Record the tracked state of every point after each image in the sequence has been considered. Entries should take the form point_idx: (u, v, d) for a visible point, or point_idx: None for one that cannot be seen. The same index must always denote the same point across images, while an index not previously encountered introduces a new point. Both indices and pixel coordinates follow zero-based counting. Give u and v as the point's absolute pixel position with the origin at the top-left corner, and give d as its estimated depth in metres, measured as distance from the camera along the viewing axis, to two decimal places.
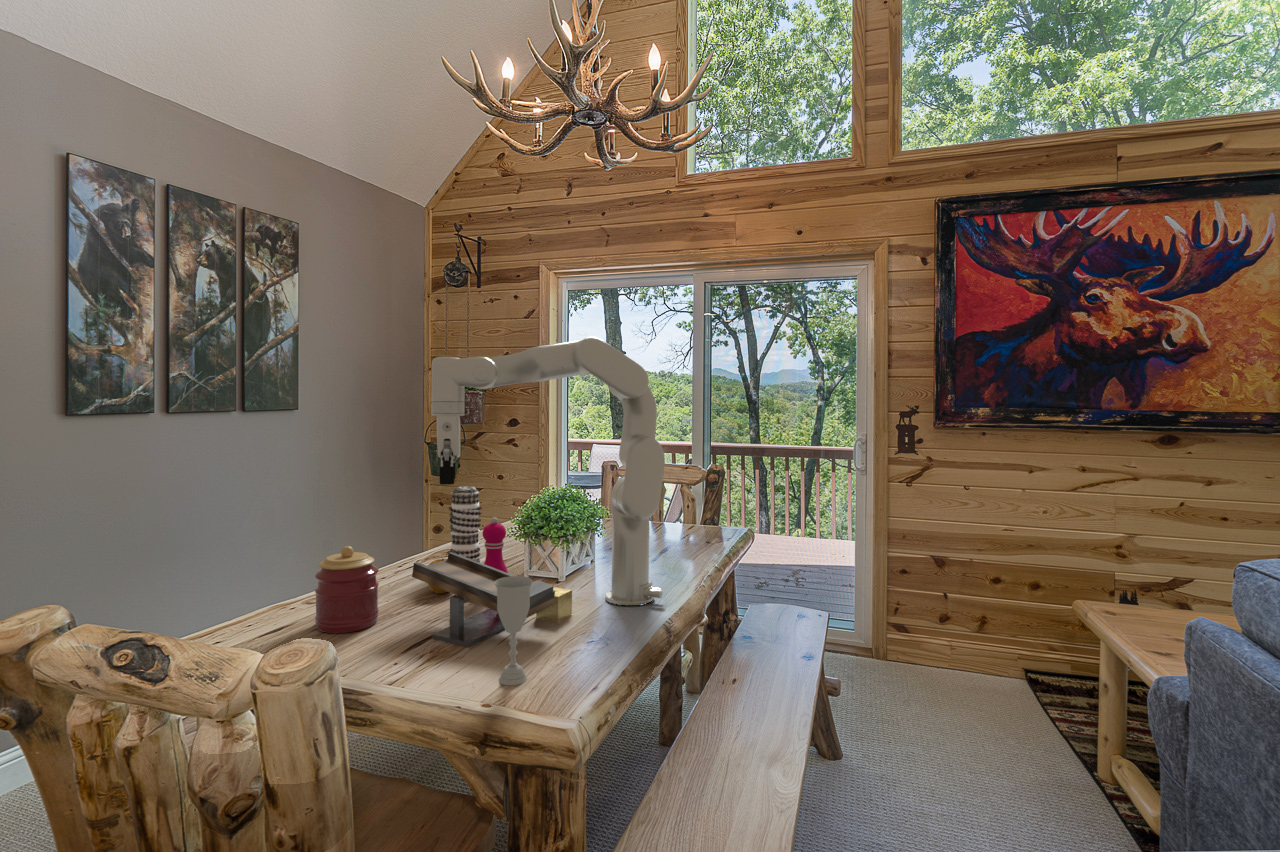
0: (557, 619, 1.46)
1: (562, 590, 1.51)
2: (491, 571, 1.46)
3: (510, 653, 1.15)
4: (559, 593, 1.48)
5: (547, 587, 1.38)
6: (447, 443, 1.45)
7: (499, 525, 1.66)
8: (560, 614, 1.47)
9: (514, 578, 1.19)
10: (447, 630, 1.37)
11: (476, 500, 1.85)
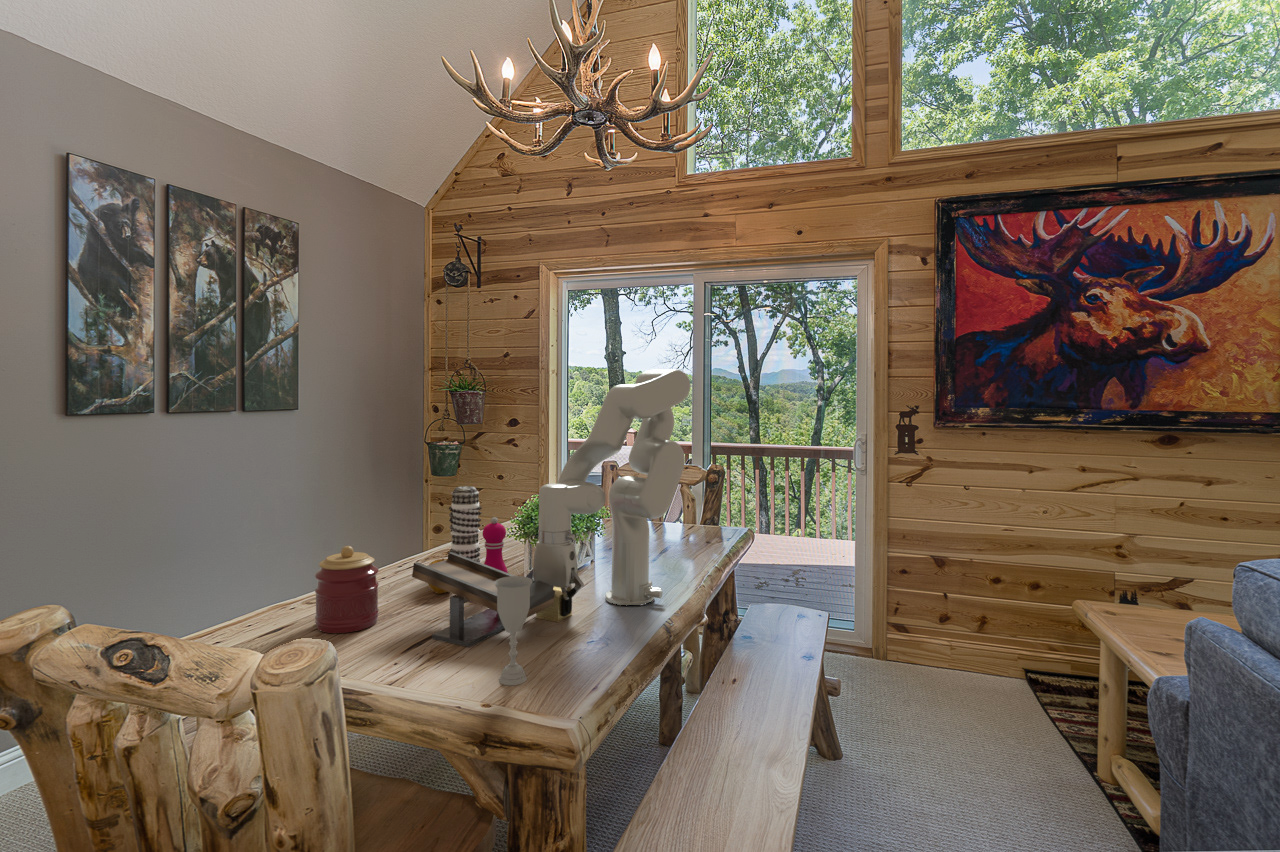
0: (557, 619, 1.46)
1: None
2: (491, 571, 1.46)
3: (510, 653, 1.15)
4: (559, 593, 1.48)
5: (547, 587, 1.38)
6: (576, 575, 1.47)
7: (499, 525, 1.66)
8: (560, 614, 1.47)
9: (514, 578, 1.19)
10: (447, 630, 1.37)
11: (476, 500, 1.85)
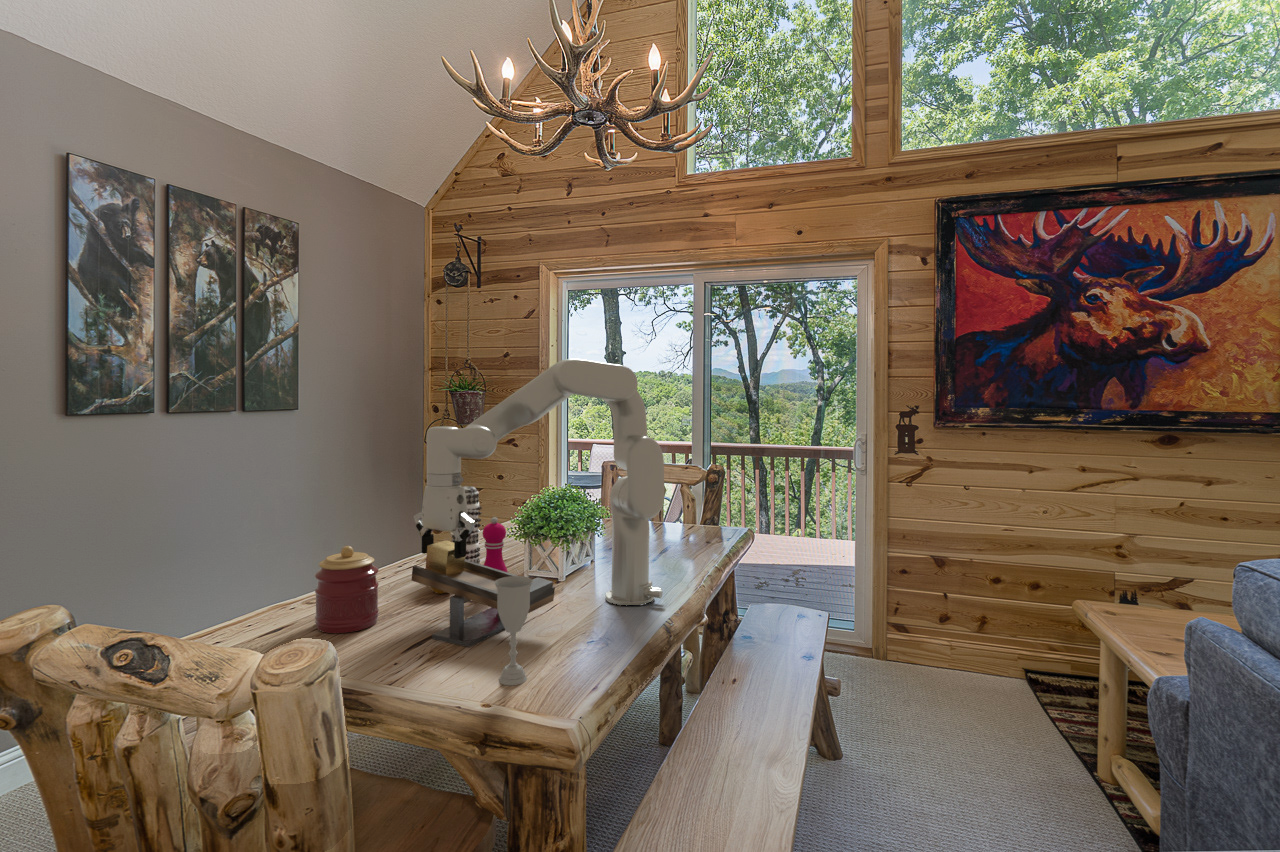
0: (445, 574, 1.42)
1: None
2: (490, 572, 1.47)
3: (510, 653, 1.15)
4: (451, 548, 1.44)
5: (546, 583, 1.38)
6: (465, 516, 1.43)
7: (499, 525, 1.66)
8: (449, 569, 1.43)
9: (514, 578, 1.19)
10: (447, 630, 1.37)
11: (476, 500, 1.85)
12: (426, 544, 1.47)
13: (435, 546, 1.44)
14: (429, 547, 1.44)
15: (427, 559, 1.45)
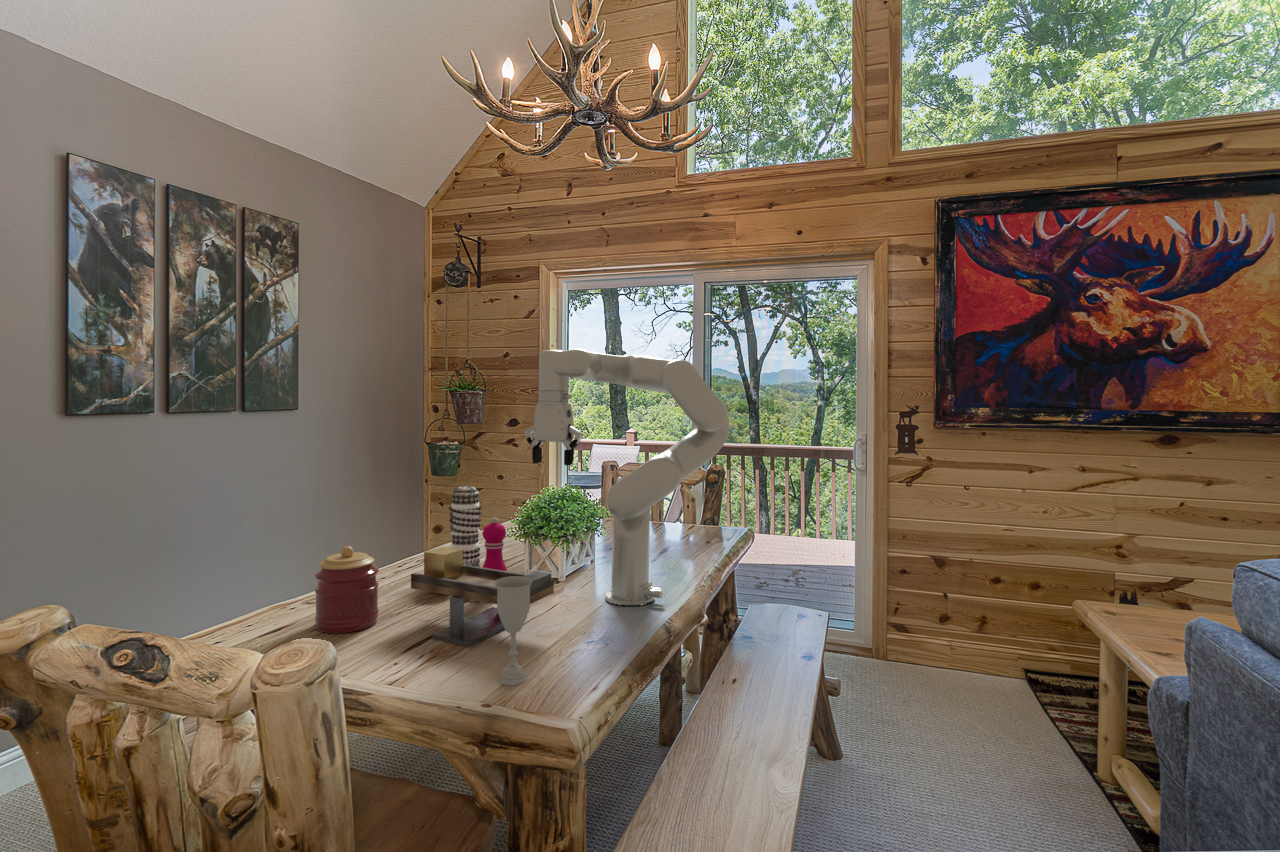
0: None
1: (452, 549, 1.48)
2: (489, 572, 1.47)
3: (510, 653, 1.15)
4: (447, 552, 1.45)
5: (545, 575, 1.38)
6: (574, 428, 1.63)
7: (499, 525, 1.66)
8: (447, 573, 1.43)
9: (514, 578, 1.19)
10: (447, 630, 1.37)
11: (476, 500, 1.85)
12: (536, 455, 1.67)
13: (432, 552, 1.45)
14: (426, 553, 1.45)
15: (424, 566, 1.45)
